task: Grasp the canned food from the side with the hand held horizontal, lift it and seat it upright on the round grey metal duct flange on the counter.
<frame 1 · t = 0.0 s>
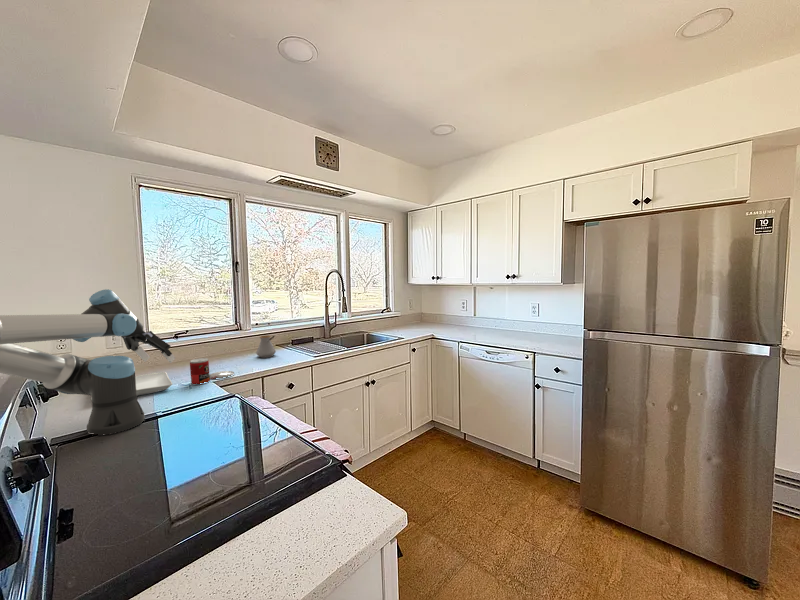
hand: (159, 359, 146), 15 cm above the counter, tool tilted 35°, fingers open, 13 cm apart
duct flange: (221, 375, 173), on the counter
square plate: (133, 391, 153), on the counter
coffee pot: (269, 357, 210), on the counter
canned food: (200, 382, 163), on the counter
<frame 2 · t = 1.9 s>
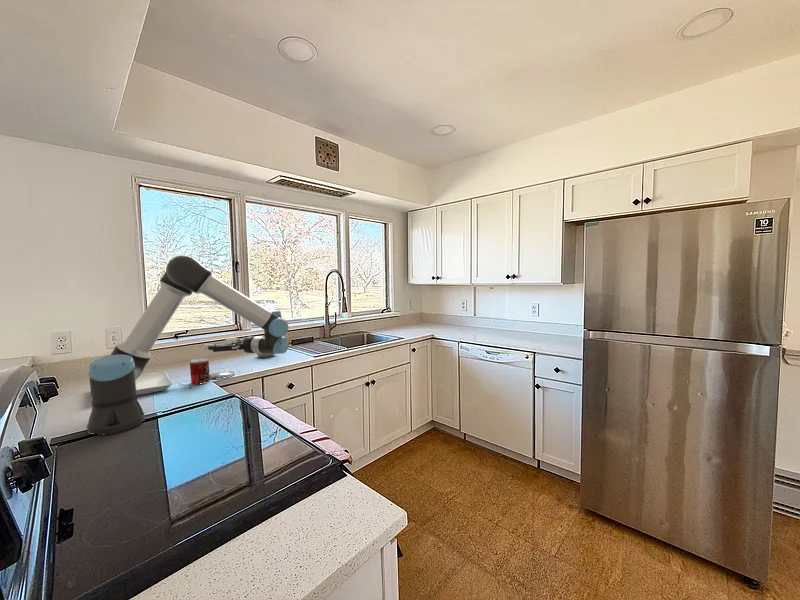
hand: (215, 344, 159), 19 cm above the counter, tool horizontal, fingers open, 13 cm apart
nothing on the counter moved.
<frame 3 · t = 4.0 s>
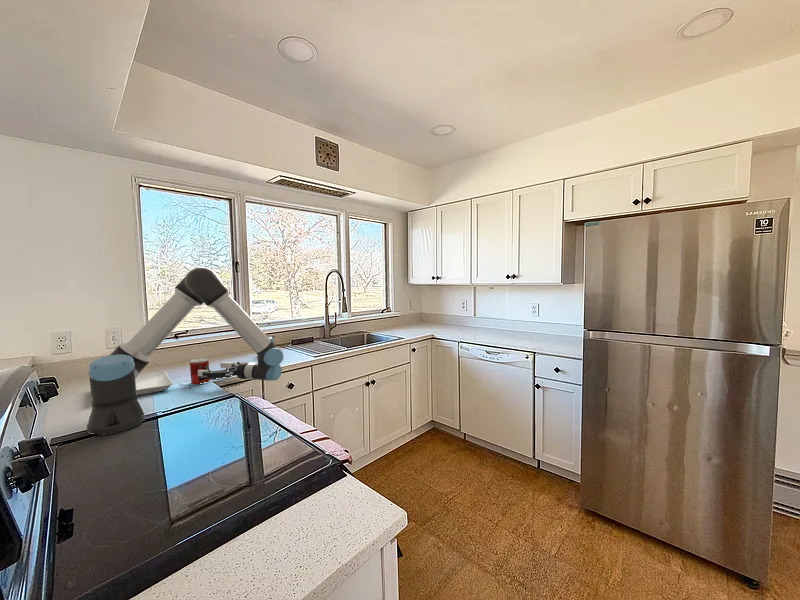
hand: (210, 368, 161), 7 cm above the counter, tool horizontal, fingers open, 13 cm apart
nothing on the counter moved.
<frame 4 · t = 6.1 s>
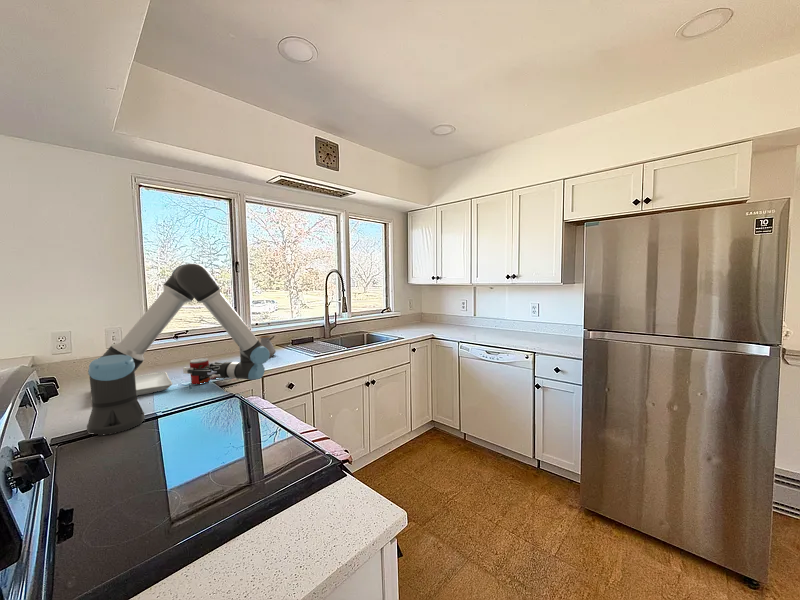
hand: (191, 368, 163), 7 cm above the counter, tool horizontal, fingers closed on canned food, 8 cm apart
canned food: (200, 382, 163), on the counter, touching gripper
everything else where it was.
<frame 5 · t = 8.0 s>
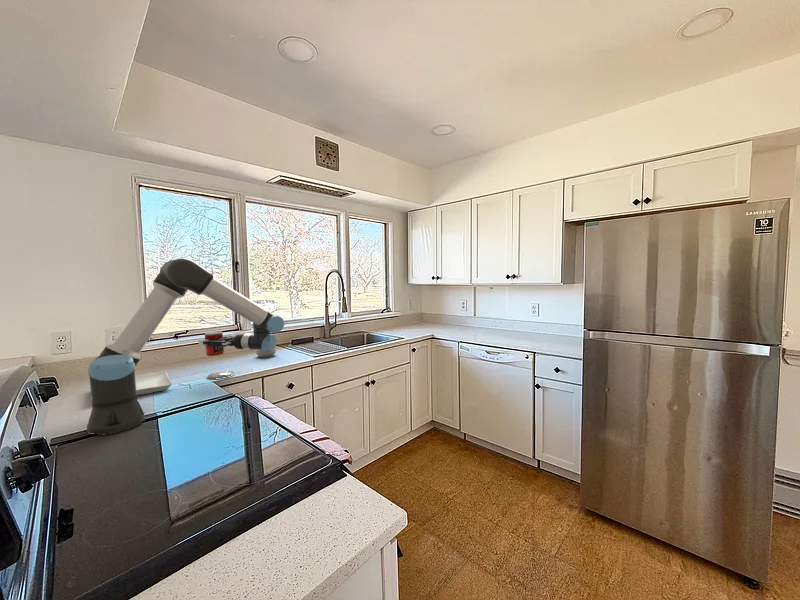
hand: (206, 340, 170), 19 cm above the counter, tool horizontal, fingers closed on canned food, 8 cm apart
canned food: (215, 354, 169), point 12 cm above the counter, touching gripper
everything else where it was.
when the fingers open (9 cm above the counter, at t = 10.2 s): canned food drops 1 cm, resting on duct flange.
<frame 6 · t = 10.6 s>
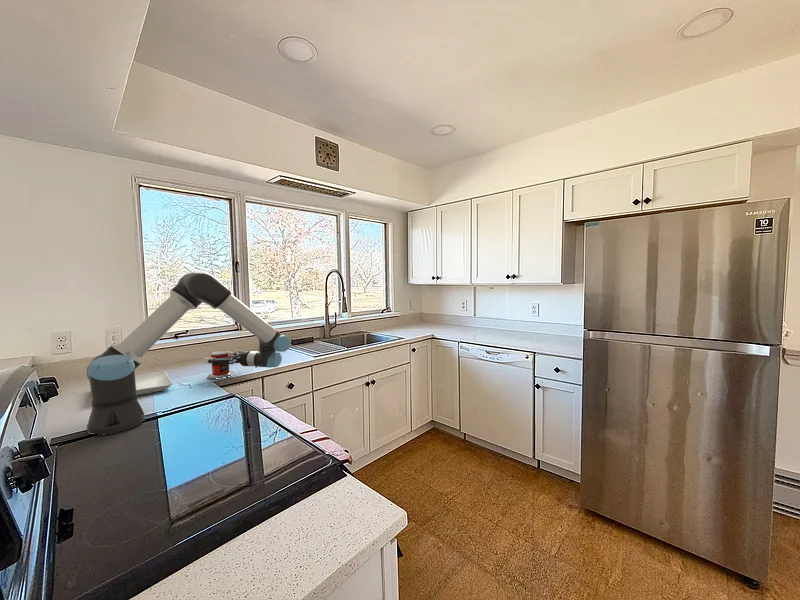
hand: (214, 357, 173), 9 cm above the counter, tool horizontal, fingers open, 12 cm apart
canned food: (221, 374, 173), point 1 cm above the counter, touching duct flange
everything else where it was.
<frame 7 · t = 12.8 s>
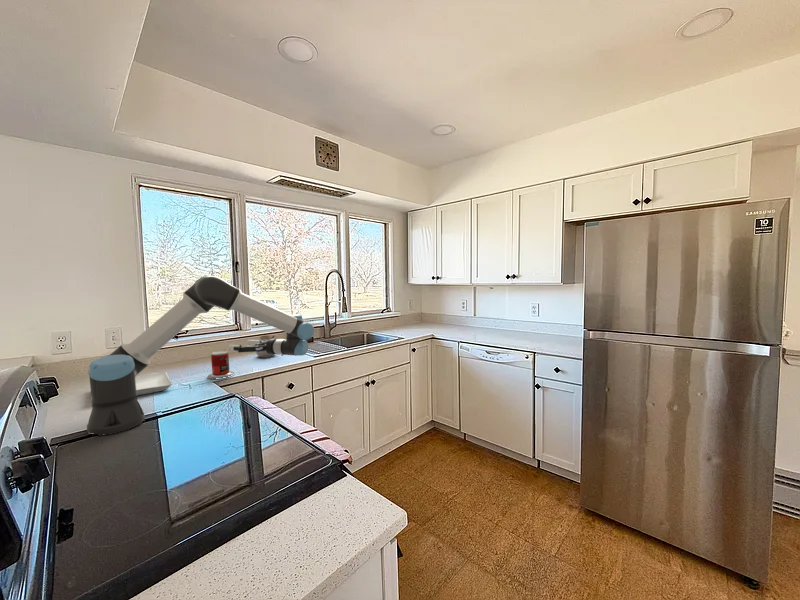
hand: (239, 345, 170), 16 cm above the counter, tool horizontal, fingers open, 13 cm apart
nothing on the counter moved.
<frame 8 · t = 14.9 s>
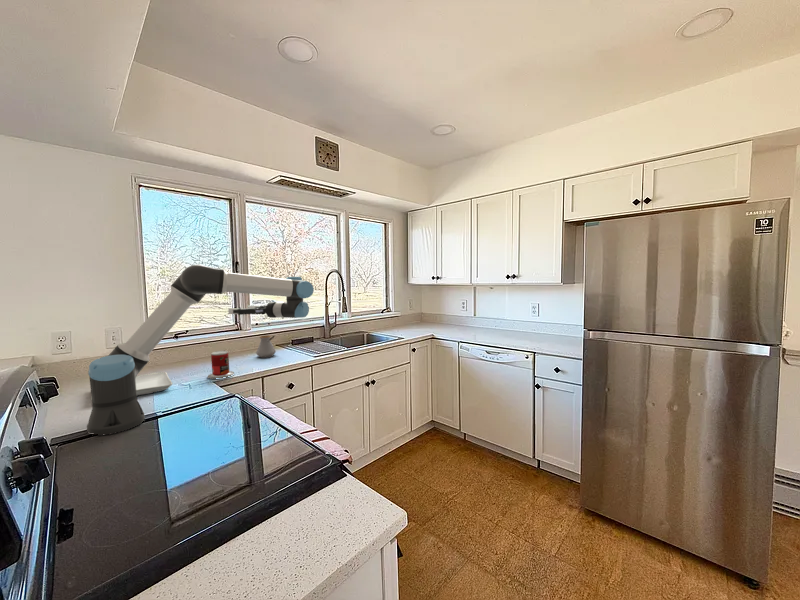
hand: (238, 309, 167), 34 cm above the counter, tool horizontal, fingers open, 13 cm apart
nothing on the counter moved.
at the end: canned food 0.1 cm from the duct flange (horizontally); canned food touching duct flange; canned food tilted 0° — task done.
